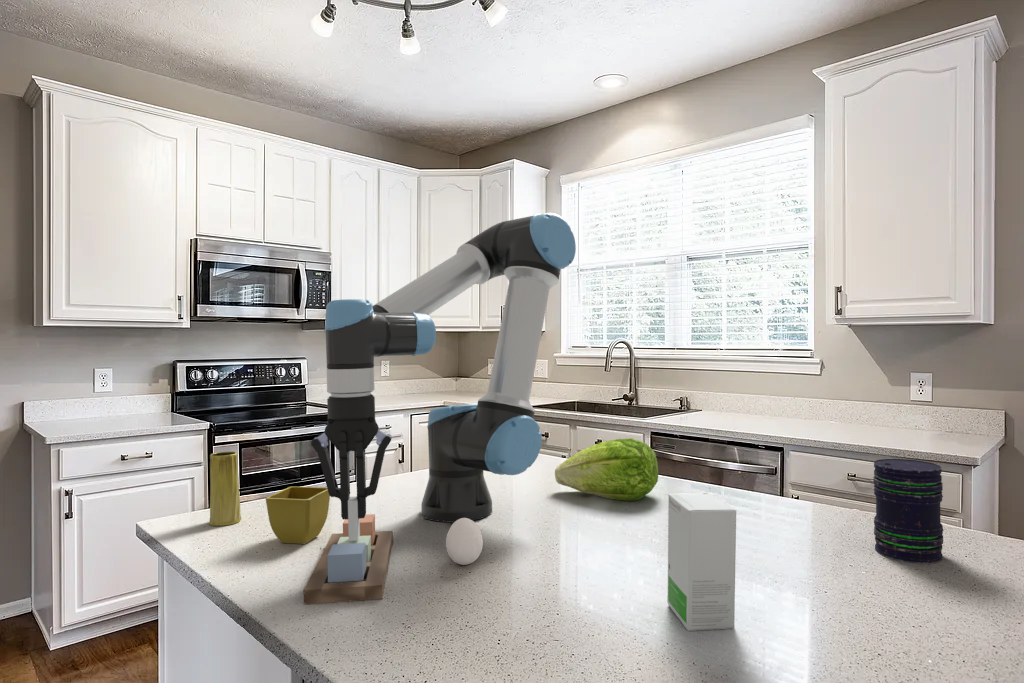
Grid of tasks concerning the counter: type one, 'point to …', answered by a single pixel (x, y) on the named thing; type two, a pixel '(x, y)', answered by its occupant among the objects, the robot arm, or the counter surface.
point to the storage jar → (908, 510)
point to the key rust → (363, 527)
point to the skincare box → (701, 560)
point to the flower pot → (298, 513)
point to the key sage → (361, 540)
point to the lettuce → (611, 470)
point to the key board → (351, 591)
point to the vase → (224, 489)
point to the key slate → (346, 562)
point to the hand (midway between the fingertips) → (354, 538)
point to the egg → (464, 541)
